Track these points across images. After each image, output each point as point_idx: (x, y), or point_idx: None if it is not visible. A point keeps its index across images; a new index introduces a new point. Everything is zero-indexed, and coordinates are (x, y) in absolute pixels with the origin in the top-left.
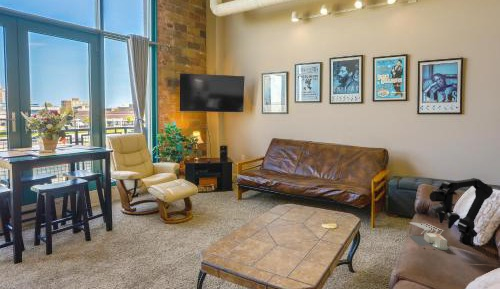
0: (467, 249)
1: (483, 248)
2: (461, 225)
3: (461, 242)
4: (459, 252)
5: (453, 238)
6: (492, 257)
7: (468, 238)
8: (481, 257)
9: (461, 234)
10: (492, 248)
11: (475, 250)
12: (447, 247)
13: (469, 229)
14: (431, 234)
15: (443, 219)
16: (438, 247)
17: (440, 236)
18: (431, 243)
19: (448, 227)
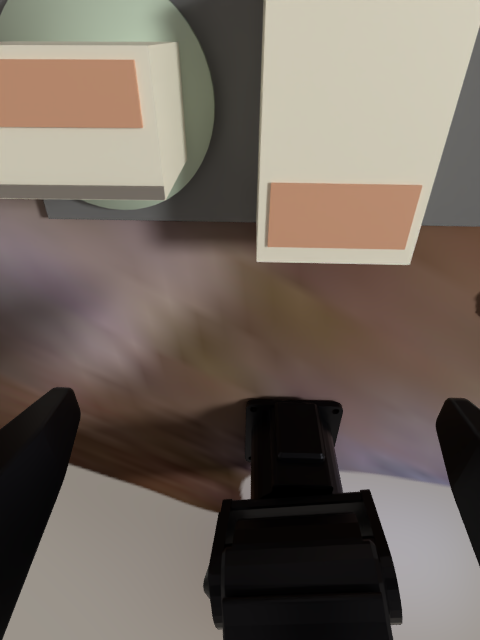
0: (158, 376)
1: (204, 474)
2: (307, 589)
3: (282, 404)
4: (52, 273)
5: (412, 398)
6: None
7: (253, 476)
8: (7, 386)
9: (317, 473)
10: (214, 511)
11: (151, 417)
12: None
13: (210, 585)
14: (391, 104)
15: (473, 547)
16: (21, 23)
17: (143, 164)
18: (242, 22)
19: (36, 404)
